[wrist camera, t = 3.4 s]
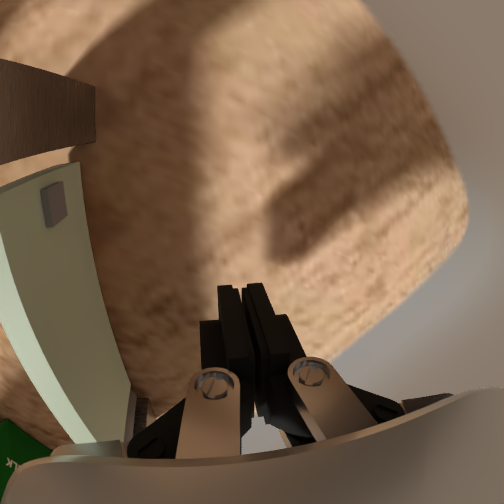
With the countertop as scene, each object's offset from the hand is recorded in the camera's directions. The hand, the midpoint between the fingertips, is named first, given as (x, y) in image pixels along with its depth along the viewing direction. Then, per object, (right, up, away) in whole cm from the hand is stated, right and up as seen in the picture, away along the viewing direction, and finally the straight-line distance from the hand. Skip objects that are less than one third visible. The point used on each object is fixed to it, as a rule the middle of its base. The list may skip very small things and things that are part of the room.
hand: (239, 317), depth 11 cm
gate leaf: (-7, 0, +2) cm, 7 cm away
